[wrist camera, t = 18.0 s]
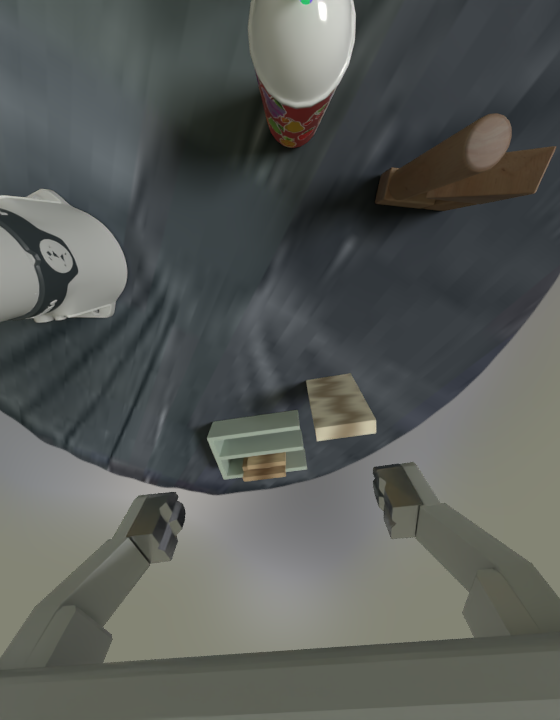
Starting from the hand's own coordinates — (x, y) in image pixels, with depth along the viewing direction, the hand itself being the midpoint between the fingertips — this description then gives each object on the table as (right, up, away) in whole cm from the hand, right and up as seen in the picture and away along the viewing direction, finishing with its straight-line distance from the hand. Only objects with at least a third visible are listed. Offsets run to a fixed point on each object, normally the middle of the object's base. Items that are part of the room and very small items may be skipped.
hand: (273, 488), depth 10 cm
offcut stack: (-3, -15, +46) cm, 49 cm away
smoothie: (+2, +37, +21) cm, 43 cm away
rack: (-4, -12, +45) cm, 47 cm away
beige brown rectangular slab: (+10, +1, +39) cm, 40 cm away
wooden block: (+20, +30, +25) cm, 43 cm away
